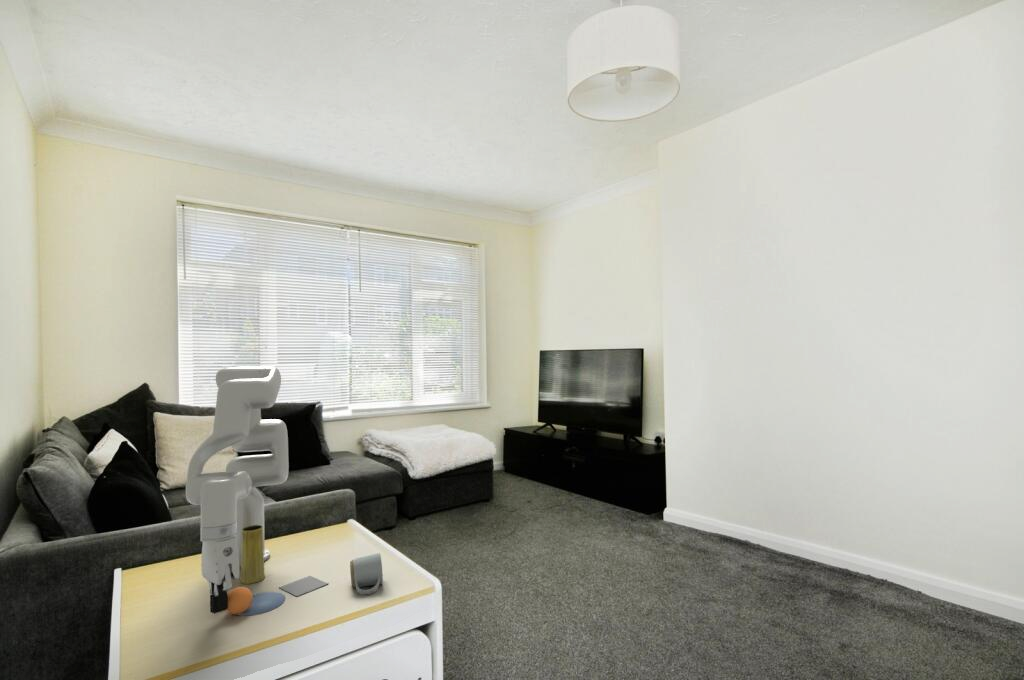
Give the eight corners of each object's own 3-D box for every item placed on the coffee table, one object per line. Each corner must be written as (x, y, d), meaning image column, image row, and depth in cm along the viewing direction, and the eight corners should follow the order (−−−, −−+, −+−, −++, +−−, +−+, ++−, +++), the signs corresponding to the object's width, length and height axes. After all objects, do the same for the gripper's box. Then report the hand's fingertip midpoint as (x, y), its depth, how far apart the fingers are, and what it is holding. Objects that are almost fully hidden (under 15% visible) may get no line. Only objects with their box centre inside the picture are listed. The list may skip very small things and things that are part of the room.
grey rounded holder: (349, 581, 142) (349, 553, 142) (380, 576, 145) (380, 548, 145) (352, 599, 132) (351, 568, 132) (385, 593, 135) (384, 563, 135)
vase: (269, 576, 147) (269, 525, 147) (252, 585, 141) (251, 532, 141) (252, 574, 149) (252, 523, 149) (235, 582, 143) (234, 530, 143)
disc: (223, 606, 129) (223, 605, 129) (270, 588, 139) (270, 587, 139) (245, 620, 122) (245, 619, 122) (294, 600, 131) (294, 600, 131)
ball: (217, 593, 125) (242, 577, 129) (224, 613, 126) (248, 597, 131) (227, 604, 121) (252, 587, 125) (235, 624, 123) (259, 607, 127)
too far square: (278, 588, 139) (278, 587, 139) (310, 576, 146) (310, 575, 146) (296, 596, 133) (296, 596, 133) (328, 584, 141) (328, 583, 141)
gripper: (249, 532, 122) (250, 613, 120) (221, 522, 131) (221, 597, 130) (215, 540, 116) (215, 626, 115) (188, 530, 125) (188, 608, 124)
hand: (218, 610), depth 122 cm, fingers closed
